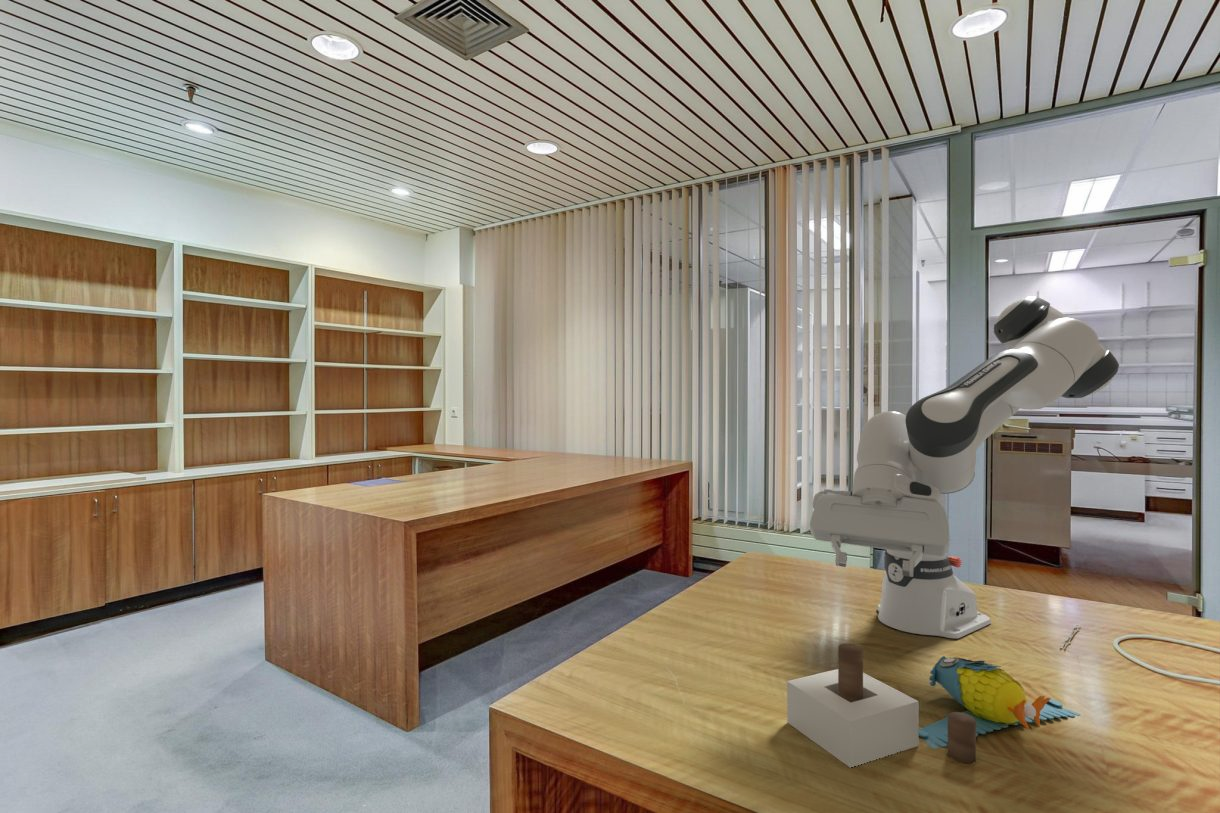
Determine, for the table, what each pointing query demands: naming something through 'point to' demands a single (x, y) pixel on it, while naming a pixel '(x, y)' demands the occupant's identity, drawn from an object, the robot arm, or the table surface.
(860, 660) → the long pin
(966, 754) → the short pin
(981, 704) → the blue yellow bird figure
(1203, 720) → the table surface
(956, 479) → the robot arm
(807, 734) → the hole block
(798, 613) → the table surface
